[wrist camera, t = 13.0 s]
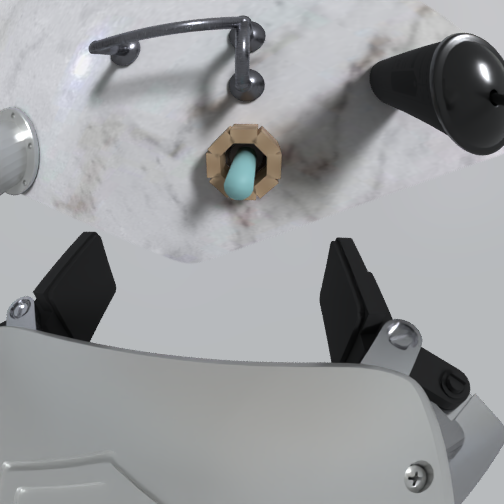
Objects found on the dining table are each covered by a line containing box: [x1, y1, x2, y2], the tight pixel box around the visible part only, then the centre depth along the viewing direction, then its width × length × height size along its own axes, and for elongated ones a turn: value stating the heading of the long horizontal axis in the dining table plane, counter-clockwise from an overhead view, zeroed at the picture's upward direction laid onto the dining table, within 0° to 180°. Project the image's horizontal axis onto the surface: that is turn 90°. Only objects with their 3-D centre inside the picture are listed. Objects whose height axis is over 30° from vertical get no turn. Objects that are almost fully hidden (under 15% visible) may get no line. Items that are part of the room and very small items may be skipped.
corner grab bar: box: [89, 16, 265, 101], centre depth 18 cm, size 15×8×6 cm, turn 89°
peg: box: [224, 143, 263, 200], centre depth 22 cm, size 3×3×9 cm
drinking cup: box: [370, 33, 504, 155], centre depth 12 cm, size 8×8×20 cm
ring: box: [206, 124, 282, 200], centre depth 25 cm, size 6×6×4 cm
